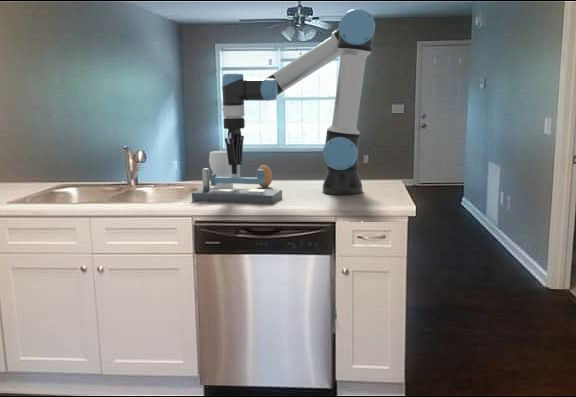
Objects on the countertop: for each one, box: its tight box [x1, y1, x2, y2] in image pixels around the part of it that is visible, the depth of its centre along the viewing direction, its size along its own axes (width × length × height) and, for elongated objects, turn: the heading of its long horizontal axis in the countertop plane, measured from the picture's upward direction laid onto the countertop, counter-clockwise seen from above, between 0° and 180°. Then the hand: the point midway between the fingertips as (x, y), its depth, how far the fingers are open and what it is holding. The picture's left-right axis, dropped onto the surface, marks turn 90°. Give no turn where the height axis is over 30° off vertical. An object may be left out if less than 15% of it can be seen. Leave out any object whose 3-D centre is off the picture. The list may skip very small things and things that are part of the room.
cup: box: [208, 150, 234, 188], centre depth 225 cm, size 11×11×15 cm
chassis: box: [191, 167, 283, 205], centre depth 202 cm, size 30×12×11 cm, turn 74°
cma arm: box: [210, 168, 264, 187], centre depth 201 cm, size 20×3×6 cm, turn 74°
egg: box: [255, 164, 273, 188], centre depth 228 cm, size 7×7×9 cm
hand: (236, 182), depth 206 cm, fingers closed
